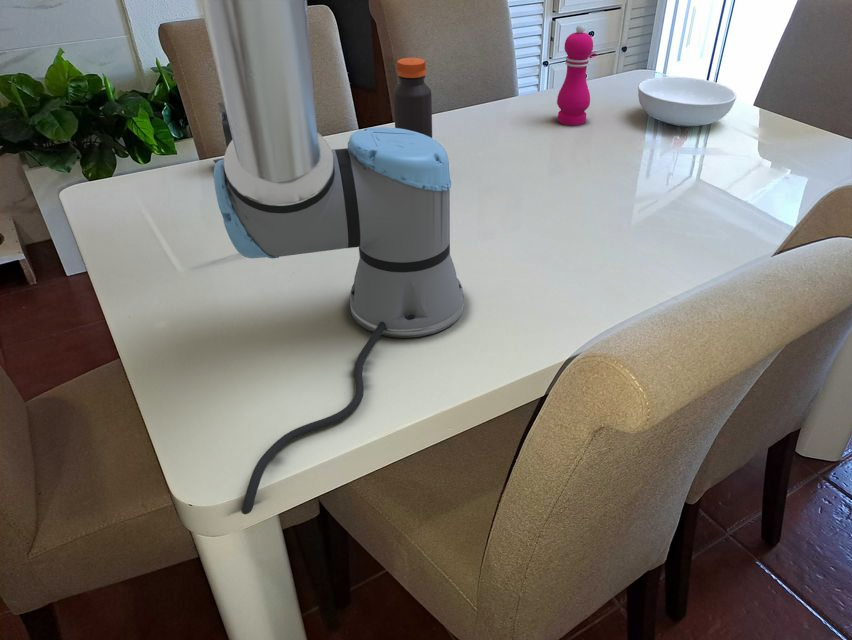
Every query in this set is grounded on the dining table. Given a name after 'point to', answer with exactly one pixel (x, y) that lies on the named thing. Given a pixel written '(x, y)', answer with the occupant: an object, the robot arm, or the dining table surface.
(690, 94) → the serving bowl
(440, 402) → the dining table surface
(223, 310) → the dining table surface
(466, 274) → the dining table surface
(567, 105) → the pepper mill
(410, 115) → the bottle
